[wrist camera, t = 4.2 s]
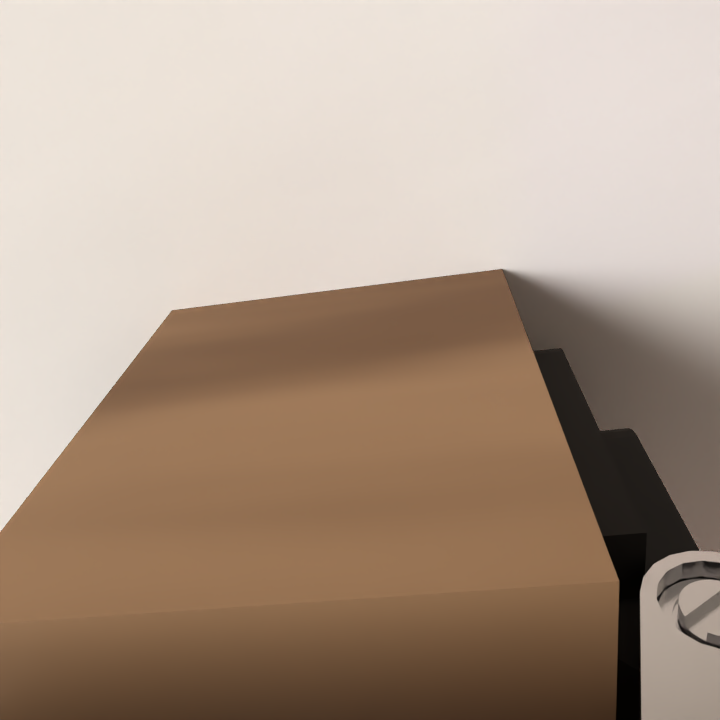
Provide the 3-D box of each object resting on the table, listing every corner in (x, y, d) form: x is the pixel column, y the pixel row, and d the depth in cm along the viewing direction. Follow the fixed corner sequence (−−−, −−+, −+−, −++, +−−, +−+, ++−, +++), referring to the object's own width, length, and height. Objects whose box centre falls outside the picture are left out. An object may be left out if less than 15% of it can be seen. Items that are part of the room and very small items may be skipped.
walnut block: (172, 310, 10) (-74, 628, 5) (502, 269, 10) (619, 581, 4) (246, 555, 13) (131, 955, 7) (519, 534, 12) (609, 953, 7)
